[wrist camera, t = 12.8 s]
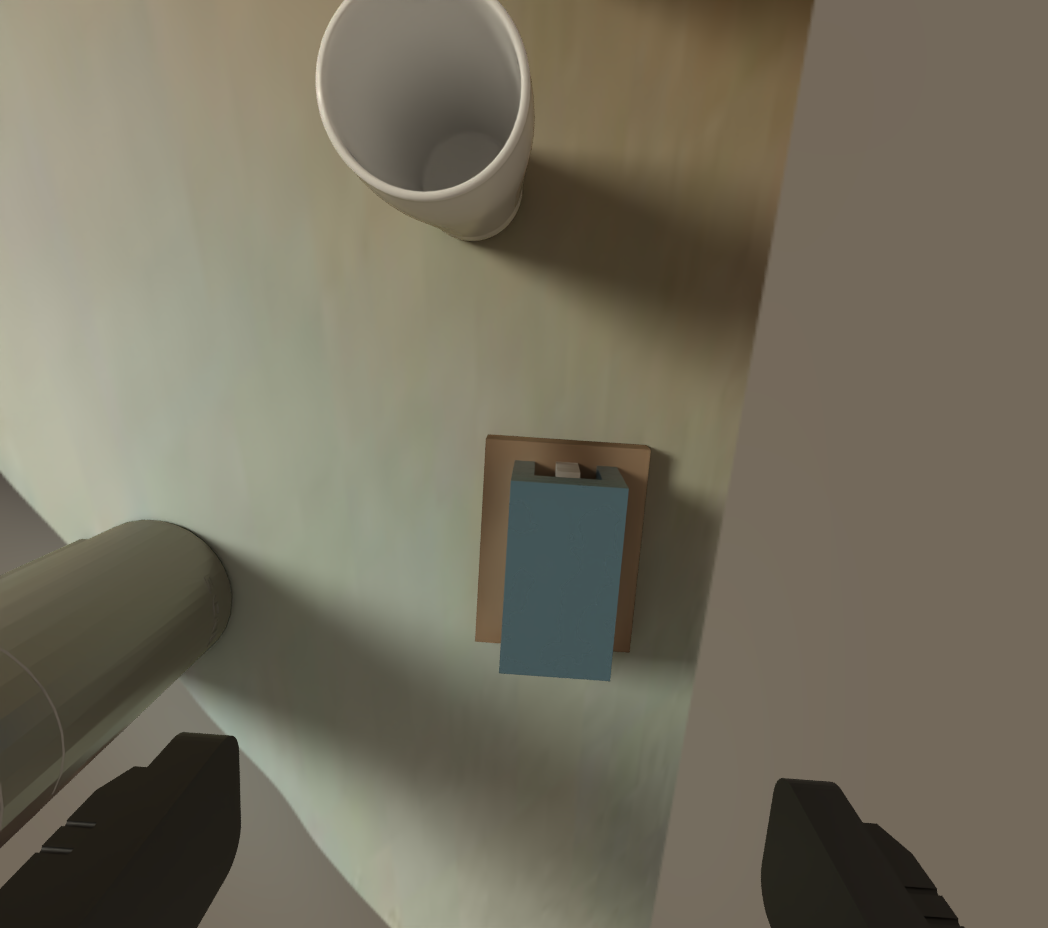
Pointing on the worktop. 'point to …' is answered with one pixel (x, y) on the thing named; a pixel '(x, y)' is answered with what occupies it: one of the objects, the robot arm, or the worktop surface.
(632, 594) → the rail stand
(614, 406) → the worktop surface
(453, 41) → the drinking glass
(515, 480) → the block
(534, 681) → the worktop surface
